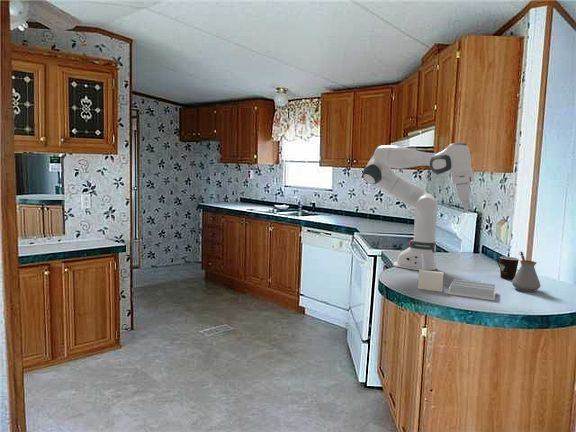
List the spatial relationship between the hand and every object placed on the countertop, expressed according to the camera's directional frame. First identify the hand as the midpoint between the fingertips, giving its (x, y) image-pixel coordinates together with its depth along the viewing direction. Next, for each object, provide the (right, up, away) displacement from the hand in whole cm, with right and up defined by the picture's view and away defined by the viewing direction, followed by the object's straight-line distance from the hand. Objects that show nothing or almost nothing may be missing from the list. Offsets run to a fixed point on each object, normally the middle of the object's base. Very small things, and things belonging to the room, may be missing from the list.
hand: (467, 209), depth 209 cm
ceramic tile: (-18, -35, -4) cm, 39 cm away
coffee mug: (+29, -34, +25) cm, 51 cm away
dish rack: (-1, -36, -9) cm, 37 cm away
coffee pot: (+28, -36, +5) cm, 45 cm away
